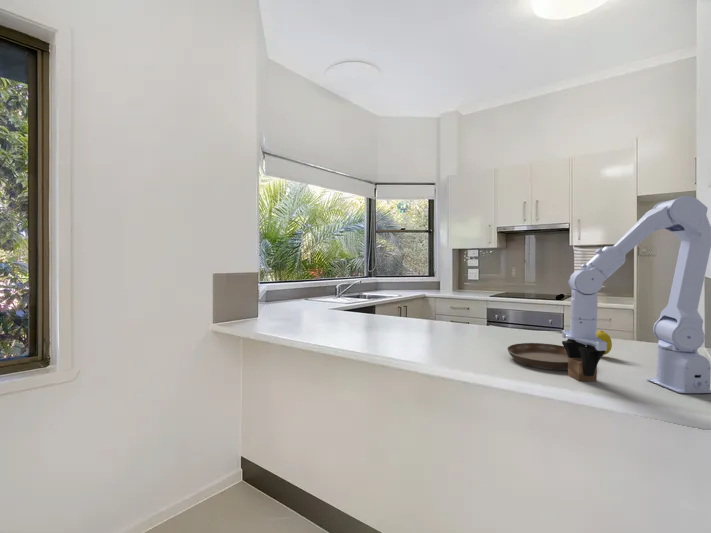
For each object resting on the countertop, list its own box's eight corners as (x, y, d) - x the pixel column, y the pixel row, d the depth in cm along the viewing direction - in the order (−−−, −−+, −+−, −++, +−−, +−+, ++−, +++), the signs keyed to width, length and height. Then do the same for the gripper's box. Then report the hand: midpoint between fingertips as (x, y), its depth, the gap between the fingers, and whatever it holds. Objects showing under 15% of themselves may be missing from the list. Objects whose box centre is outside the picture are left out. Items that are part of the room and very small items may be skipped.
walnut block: (596, 381, 94) (597, 362, 94) (578, 381, 94) (579, 362, 94) (584, 375, 99) (585, 357, 99) (567, 375, 99) (568, 357, 98)
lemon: (614, 359, 114) (615, 332, 114) (594, 358, 115) (594, 331, 115) (606, 354, 120) (607, 329, 119) (586, 353, 121) (587, 328, 120)
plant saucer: (541, 376, 99) (542, 363, 99) (492, 355, 119) (492, 344, 118) (605, 370, 104) (605, 358, 104) (548, 351, 124) (548, 341, 124)
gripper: (551, 313, 103) (550, 364, 103) (586, 323, 89) (585, 382, 89) (577, 313, 103) (575, 364, 104) (616, 323, 89) (614, 381, 89)
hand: (581, 372), depth 96 cm, fingers closed on walnut block, 4 cm apart
